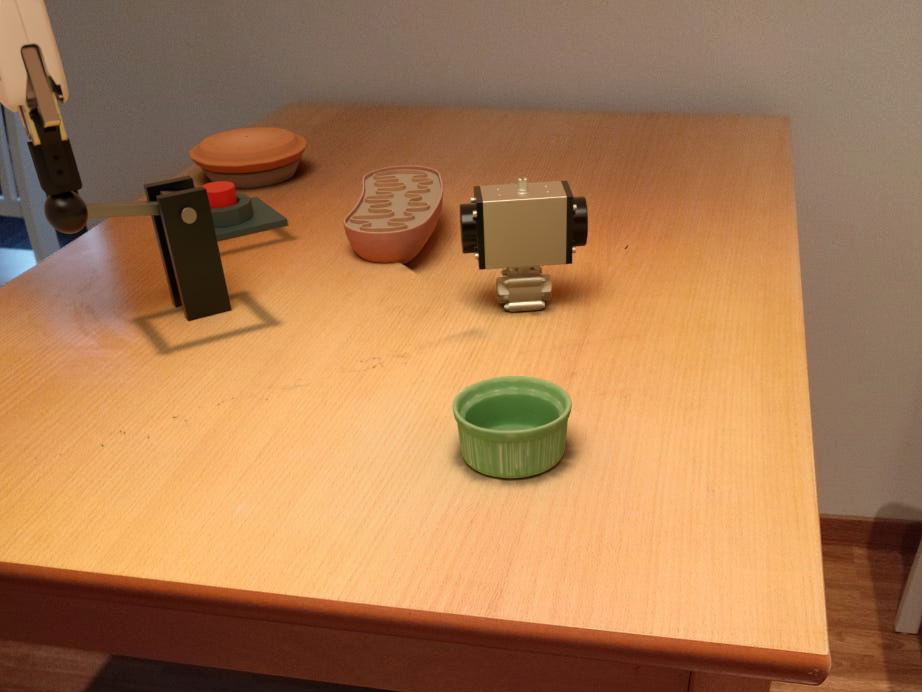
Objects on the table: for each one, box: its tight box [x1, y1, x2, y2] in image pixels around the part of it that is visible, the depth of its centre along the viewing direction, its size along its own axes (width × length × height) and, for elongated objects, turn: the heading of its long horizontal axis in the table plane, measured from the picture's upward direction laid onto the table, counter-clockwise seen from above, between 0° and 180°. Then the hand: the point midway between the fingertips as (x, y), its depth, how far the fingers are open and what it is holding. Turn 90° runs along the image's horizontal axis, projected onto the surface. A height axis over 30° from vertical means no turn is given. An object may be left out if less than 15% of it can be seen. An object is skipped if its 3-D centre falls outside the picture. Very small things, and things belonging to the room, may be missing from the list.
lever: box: [43, 190, 182, 235], centre depth 91 cm, size 13×4×4 cm, turn 120°
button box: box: [211, 191, 289, 242], centre depth 118 cm, size 12×10×4 cm
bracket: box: [143, 175, 233, 322], centre depth 97 cm, size 11×9×13 cm
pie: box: [188, 126, 308, 190], centre depth 135 cm, size 15×16×5 cm
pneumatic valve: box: [459, 176, 589, 313], centre depth 97 cm, size 6×12×12 cm, turn 93°
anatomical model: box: [342, 164, 444, 265], centre depth 114 cm, size 23×10×5 cm, turn 177°
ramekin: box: [452, 375, 573, 479], centre depth 78 cm, size 9×9×4 cm
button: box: [200, 181, 238, 209], centre depth 116 cm, size 4×4×2 cm
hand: (62, 189), depth 88 cm, fingers closed
